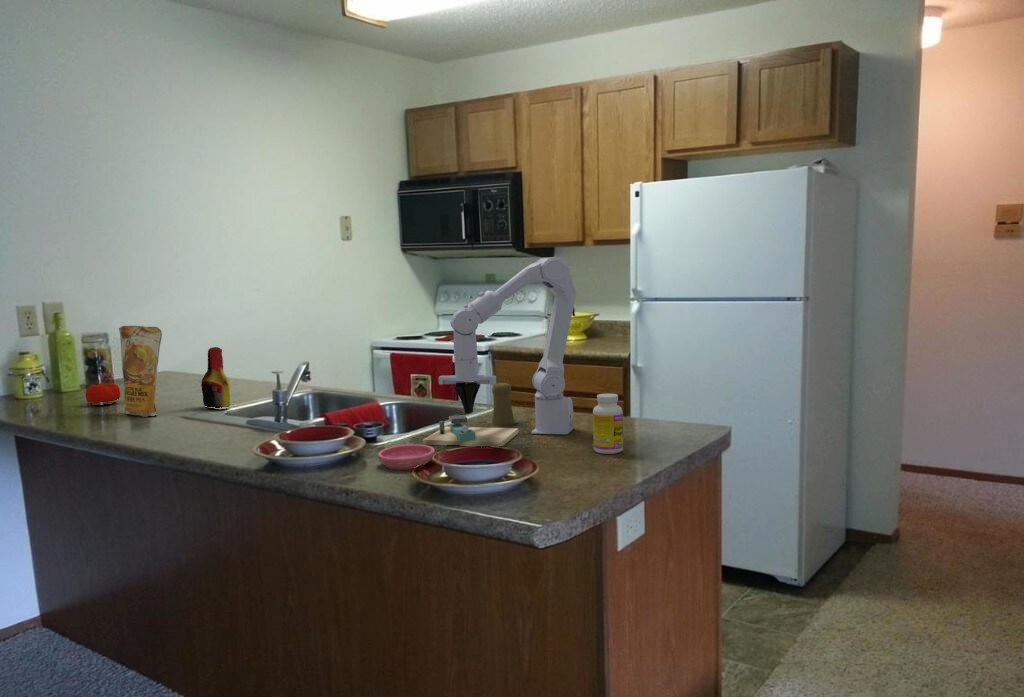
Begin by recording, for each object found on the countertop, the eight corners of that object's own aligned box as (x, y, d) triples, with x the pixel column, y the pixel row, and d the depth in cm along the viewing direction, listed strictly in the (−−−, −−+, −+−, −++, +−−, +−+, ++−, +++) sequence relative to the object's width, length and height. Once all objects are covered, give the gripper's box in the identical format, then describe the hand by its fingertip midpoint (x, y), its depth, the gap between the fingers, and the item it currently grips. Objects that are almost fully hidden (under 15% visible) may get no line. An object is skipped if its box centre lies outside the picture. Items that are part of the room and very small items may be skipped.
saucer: (404, 475, 160) (403, 460, 159) (366, 467, 168) (366, 453, 167) (446, 462, 169) (446, 448, 169) (409, 454, 177) (408, 441, 177)
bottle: (237, 408, 244) (232, 346, 242) (219, 412, 239) (213, 349, 237) (217, 405, 252) (212, 345, 249) (199, 408, 247) (193, 347, 244)
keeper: (468, 435, 193) (467, 418, 192) (440, 438, 191) (439, 420, 191) (464, 431, 198) (463, 414, 198) (437, 433, 197) (436, 416, 196)
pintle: (469, 438, 185) (469, 425, 184) (467, 439, 183) (467, 426, 183) (464, 438, 185) (463, 425, 185) (462, 439, 184) (461, 426, 183)
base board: (518, 433, 194) (518, 428, 194) (501, 447, 180) (500, 442, 180) (445, 430, 200) (445, 426, 200) (422, 444, 185) (422, 439, 185)
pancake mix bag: (136, 410, 249) (128, 324, 245) (171, 414, 238) (163, 325, 235) (116, 414, 243) (108, 326, 240) (151, 418, 233) (142, 327, 229)
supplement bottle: (615, 456, 168) (614, 398, 166) (588, 453, 171) (587, 396, 170) (628, 449, 173) (626, 393, 172) (601, 446, 177) (600, 391, 175)
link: (475, 439, 183) (475, 432, 183) (460, 441, 182) (459, 434, 182) (463, 429, 195) (462, 422, 195) (448, 430, 194) (448, 423, 194)
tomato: (98, 408, 255) (95, 386, 254) (80, 406, 261) (78, 384, 260) (128, 403, 264) (126, 381, 263) (111, 400, 270) (109, 380, 269)
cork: (511, 425, 203) (510, 384, 202) (489, 425, 204) (488, 385, 203) (516, 420, 209) (514, 381, 208) (494, 420, 210) (493, 381, 209)
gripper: (499, 356, 190) (501, 410, 191) (445, 356, 194) (448, 409, 196) (489, 360, 183) (492, 415, 184) (434, 360, 187) (437, 414, 189)
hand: (468, 412), depth 190 cm, fingers closed
